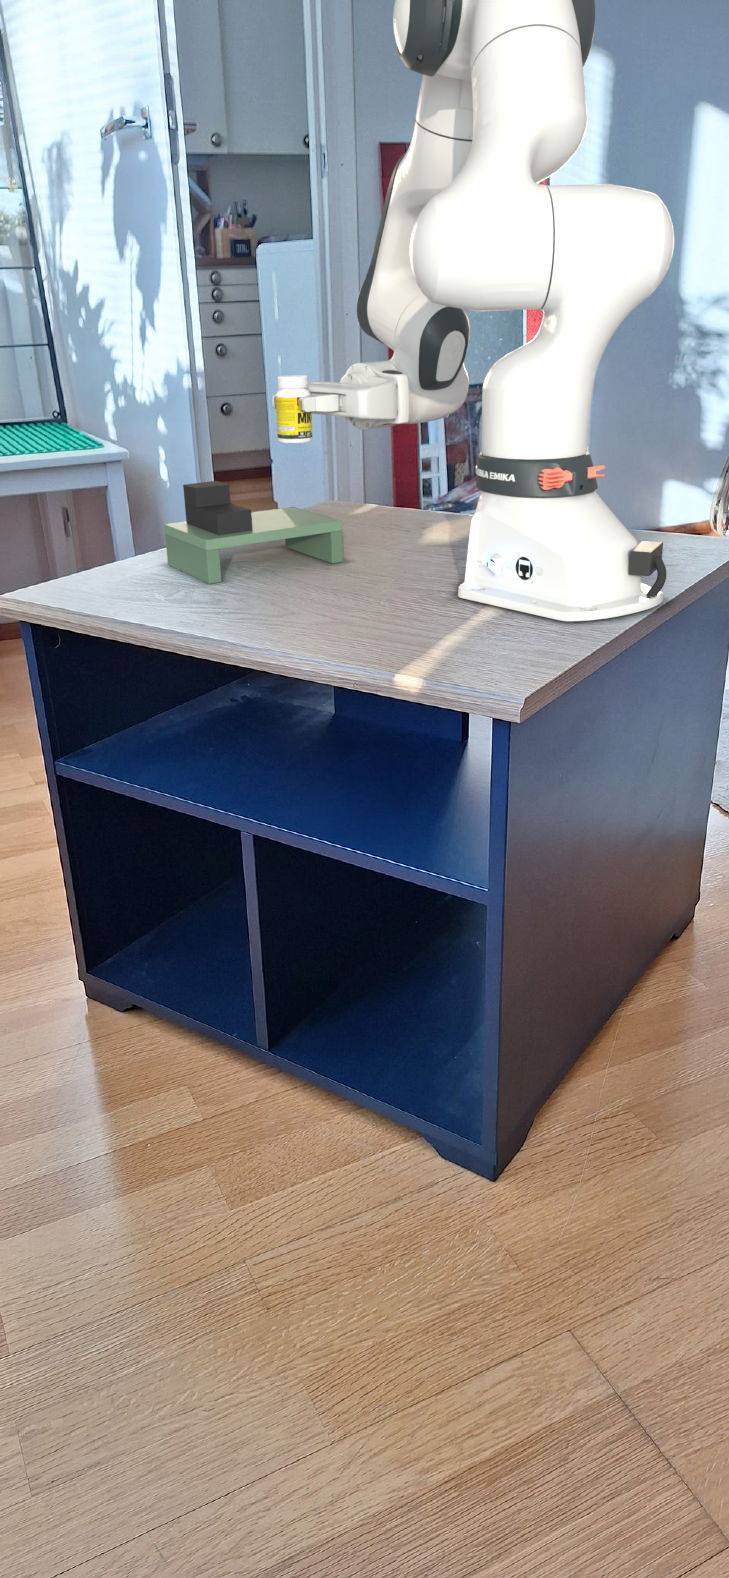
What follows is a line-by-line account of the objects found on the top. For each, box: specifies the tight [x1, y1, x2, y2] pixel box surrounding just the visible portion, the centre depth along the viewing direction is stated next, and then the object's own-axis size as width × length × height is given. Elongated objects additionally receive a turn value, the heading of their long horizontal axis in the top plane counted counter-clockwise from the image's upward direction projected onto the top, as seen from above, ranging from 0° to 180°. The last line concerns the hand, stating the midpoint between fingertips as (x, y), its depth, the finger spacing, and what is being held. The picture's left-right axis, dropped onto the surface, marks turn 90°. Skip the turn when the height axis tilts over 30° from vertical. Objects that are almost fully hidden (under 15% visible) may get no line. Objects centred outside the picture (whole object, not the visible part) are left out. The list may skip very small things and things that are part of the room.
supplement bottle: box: [275, 374, 313, 444], centre depth 149 cm, size 5×5×8 cm
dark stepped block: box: [182, 480, 252, 535], centre depth 131 cm, size 9×4×5 cm, turn 32°
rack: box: [163, 506, 344, 585], centre depth 135 cm, size 12×18×5 cm, turn 122°
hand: (288, 403), depth 148 cm, fingers closed on supplement bottle, 5 cm apart
